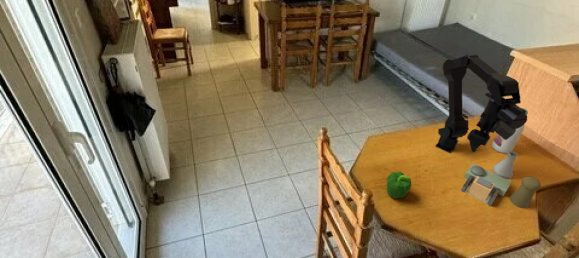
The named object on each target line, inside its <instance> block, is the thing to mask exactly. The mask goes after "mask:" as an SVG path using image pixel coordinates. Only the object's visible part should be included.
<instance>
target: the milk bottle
mask: <svg viewBox="0 0 579 258" xmlns="http://www.w3.org/2000/svg"><path fill="white" fill-rule="evenodd" d="M521 108H522V109H524V110H526V113H525V114H526V115H527V116H528V113H529V111H528V110H527V109H526V108H524V107H521ZM524 129H525V124H524V125H523V126H521V127H520V128H518V129H516V132H515V133H514V134H513V135H512V136H511V137H510V138H508V139H507V140H504V139H503V138H502V137H501V136H500V135H498V134H497V133H496V135H495V138H494V140H493V141H492V145H491V146H492V148H493V150H494V151H497V152H498V153H502V154H507V155H508V152H509V151H513V150H514V149H515V146H516V145H517V143H518V141H519V139H520V137H521V136H522V134H523V131H524Z"/></svg>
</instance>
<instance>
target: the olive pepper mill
mask: <svg viewBox="0 0 579 258" xmlns="http://www.w3.org/2000/svg"><path fill="white" fill-rule="evenodd" d="M541 185H542V184H541V181H539V179H537V178H536V177H533V176H526V177H524V178H523V179H522V181H521V185H520V186H519V187H518V188H517V189H516V190H515V191H514V193H513V194H511V195H510V197H509V201H510V203H512V205H514V206H515V207H518V208H520V209H528V208H529V207H530V204H531V202H532V200H533V197H534V195H535V193H536V192H537V191H539V190H540V188H541ZM528 206H529V207H528ZM527 207H528V208H527Z"/></svg>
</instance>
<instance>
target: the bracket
mask: <svg viewBox="0 0 579 258" xmlns="http://www.w3.org/2000/svg"><path fill="white" fill-rule="evenodd" d="M475 179H476V177H474V176H472V175H470V177H469V178H468V179H466V180H465V183H464V184H463V185H462V187H461V189H460V191H461V192H463V193H465V194H467V195H469V196H471V197H473V198H474V199H477V200H479V201H481V202H483V203H484V204H487V205H488V207H489V206H490V207H491V206H492V204H493V203H494V201H495V199H496V198H497V196H498V195H499V194H498V193H499V191H500V189H499V188H497V187H495V186H493V188H492V190H491V192H490V194H489V195H488V197H487V198H486V200H484V199H482V198H480V197H478V196H476V195H474V194H472V193H470V192H468V191H469V189H470V187H471V185H472V183H473V181H474V180H475Z"/></svg>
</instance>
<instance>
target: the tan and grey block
mask: <svg viewBox="0 0 579 258" xmlns="http://www.w3.org/2000/svg"><path fill="white" fill-rule="evenodd" d="M494 185H495V184H493V183H492V182H490V181H488V180H486V179H483V178H481V177H479V176H477V177H476V179H475V180H474V181H473V183H472V185H471V187H470V189H469V191H468V192H470V193H472V194H474V195H476V196H478V197H480V198H482V199H484V200H486V198H487V197H488V195H489V194H490V192H491V190H492V188H493V186H494Z"/></svg>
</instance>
